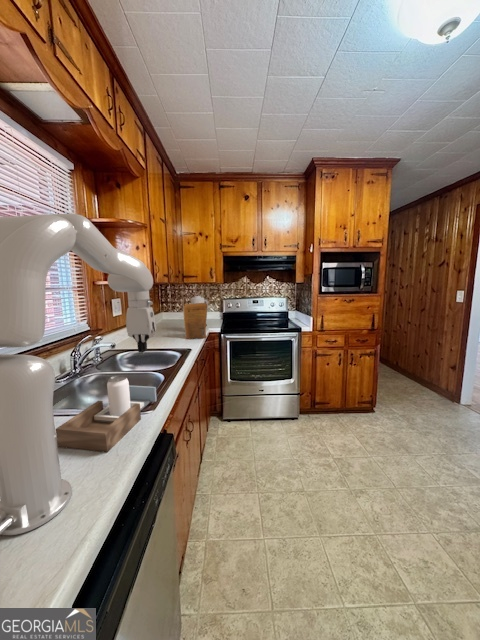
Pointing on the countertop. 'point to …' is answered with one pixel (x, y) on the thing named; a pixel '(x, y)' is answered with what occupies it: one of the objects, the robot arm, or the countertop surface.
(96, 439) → the wooden coaster holder
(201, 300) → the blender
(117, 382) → the can
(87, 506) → the countertop surface
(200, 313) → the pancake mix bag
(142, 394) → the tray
